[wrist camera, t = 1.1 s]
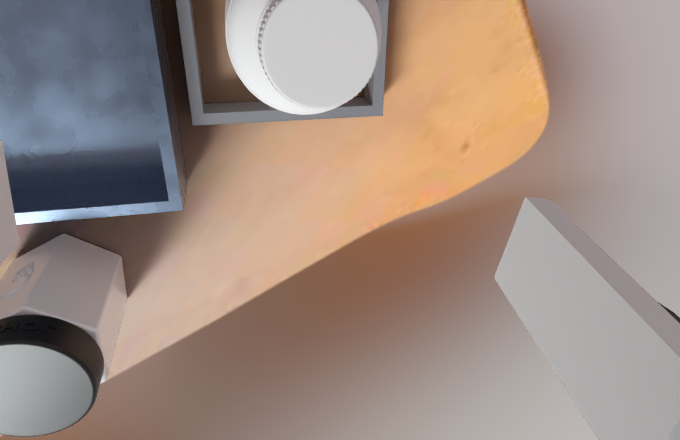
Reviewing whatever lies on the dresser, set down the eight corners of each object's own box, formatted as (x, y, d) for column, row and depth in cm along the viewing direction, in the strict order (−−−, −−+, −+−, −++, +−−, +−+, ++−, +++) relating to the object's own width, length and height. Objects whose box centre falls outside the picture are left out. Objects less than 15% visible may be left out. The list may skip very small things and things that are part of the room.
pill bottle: (321, -68, 32) (388, -78, 20) (351, 53, 36) (422, 111, 24) (205, -32, 32) (195, -18, 19) (248, 87, 36) (264, 164, 23)
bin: (-45, 198, 35) (-81, 232, 31) (-147, -58, 28) (-215, -59, 24) (187, 181, 38) (182, 210, 34) (151, -54, 31) (140, -54, 27)
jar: (87, 216, 38) (38, 315, 28) (151, 288, 42) (129, 397, 32) (-13, 269, 39) (-97, 386, 28) (61, 335, 43) (10, 458, 32)
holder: (194, 115, 36) (192, 125, 34) (164, -107, 30) (160, -112, 28) (373, 106, 39) (382, 115, 37) (382, -100, 32) (394, -104, 30)
